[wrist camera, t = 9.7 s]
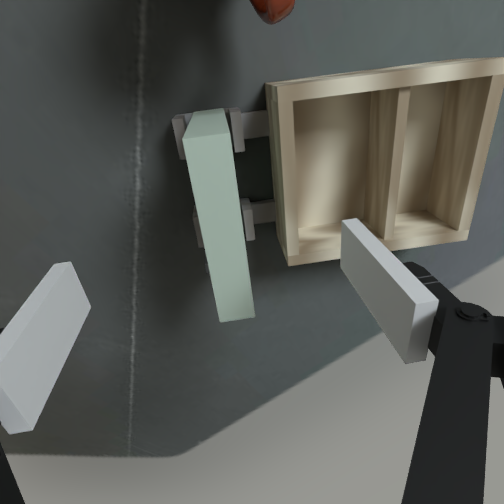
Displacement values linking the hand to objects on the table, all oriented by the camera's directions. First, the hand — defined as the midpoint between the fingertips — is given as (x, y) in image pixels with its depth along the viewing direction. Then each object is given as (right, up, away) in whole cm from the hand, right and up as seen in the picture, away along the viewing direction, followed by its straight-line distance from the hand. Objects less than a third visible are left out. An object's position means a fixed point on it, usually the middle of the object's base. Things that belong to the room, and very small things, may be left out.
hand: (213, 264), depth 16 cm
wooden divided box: (+8, +9, +14) cm, 18 cm away
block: (-1, +7, +14) cm, 15 cm away
